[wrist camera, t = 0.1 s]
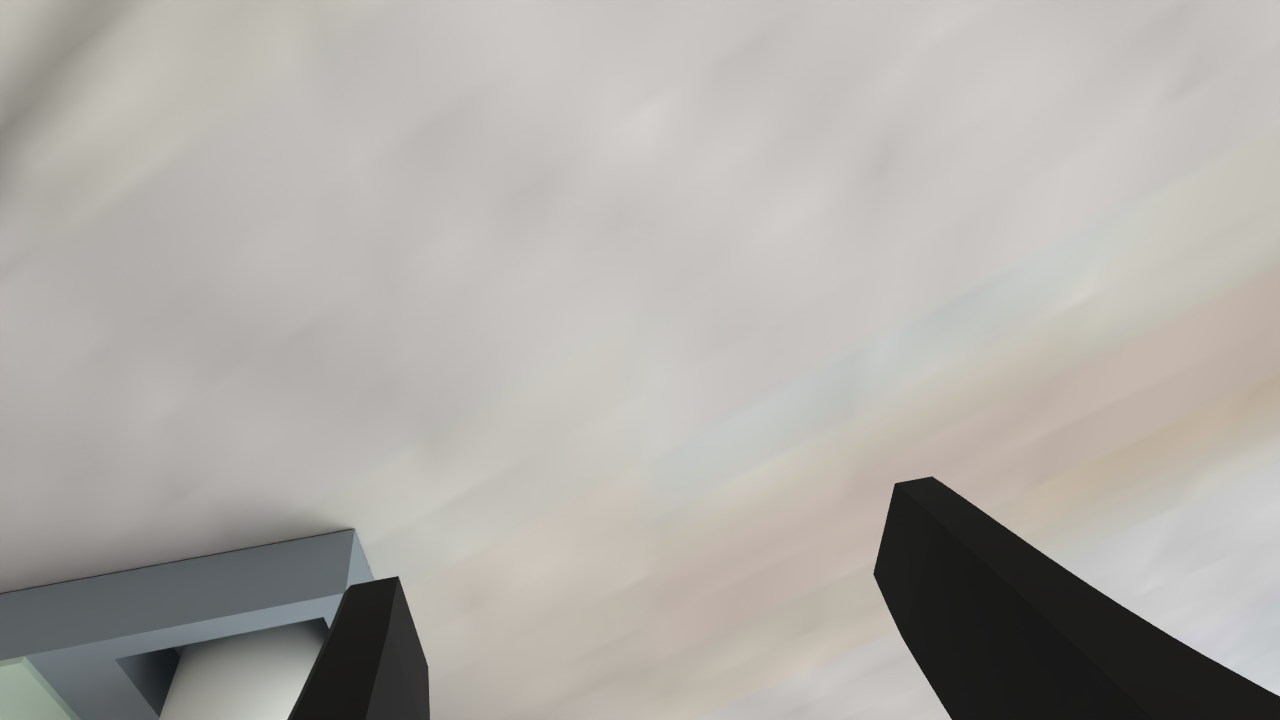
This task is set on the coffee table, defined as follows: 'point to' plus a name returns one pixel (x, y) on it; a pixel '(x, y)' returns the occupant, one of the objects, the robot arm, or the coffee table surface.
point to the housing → (157, 624)
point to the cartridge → (245, 674)
